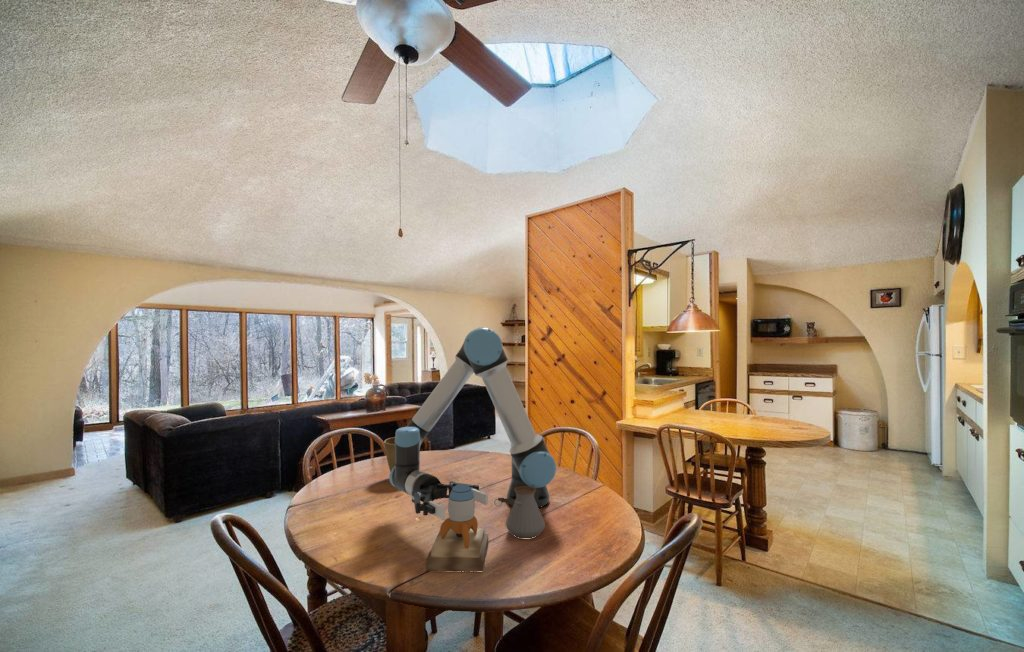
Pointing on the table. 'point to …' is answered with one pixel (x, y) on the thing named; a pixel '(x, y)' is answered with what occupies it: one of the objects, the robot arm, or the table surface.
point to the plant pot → (390, 452)
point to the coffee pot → (524, 514)
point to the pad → (458, 561)
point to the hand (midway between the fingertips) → (466, 506)
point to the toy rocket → (460, 513)
